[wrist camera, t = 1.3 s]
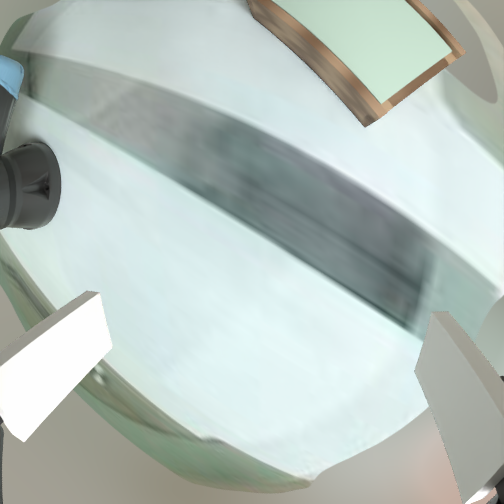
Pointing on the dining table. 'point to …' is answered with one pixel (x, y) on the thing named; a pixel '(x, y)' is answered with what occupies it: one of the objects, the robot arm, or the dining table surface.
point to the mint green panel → (372, 39)
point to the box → (336, 71)
